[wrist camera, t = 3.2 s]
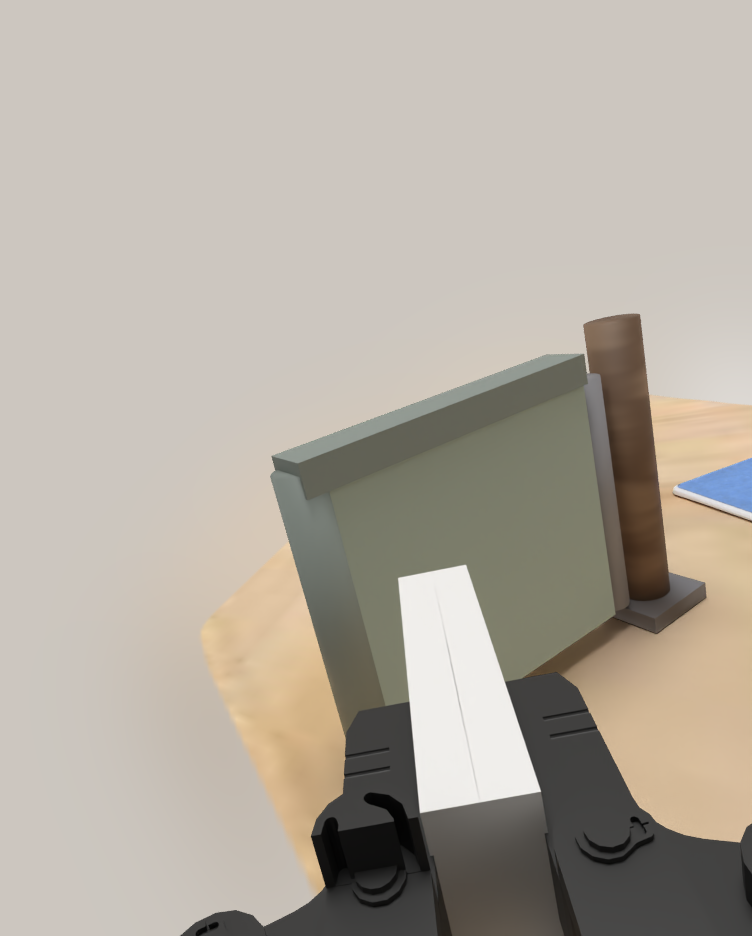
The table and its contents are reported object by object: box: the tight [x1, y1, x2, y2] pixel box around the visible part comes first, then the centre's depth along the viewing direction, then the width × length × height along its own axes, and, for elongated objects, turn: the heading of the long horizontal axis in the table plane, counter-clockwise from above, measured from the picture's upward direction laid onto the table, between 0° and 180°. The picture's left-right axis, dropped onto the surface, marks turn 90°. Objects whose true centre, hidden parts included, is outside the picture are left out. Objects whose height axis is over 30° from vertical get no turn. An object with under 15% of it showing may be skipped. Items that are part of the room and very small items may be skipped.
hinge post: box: [584, 314, 706, 633], centre depth 40 cm, size 5×5×18 cm
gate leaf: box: [270, 354, 630, 738], centre depth 34 cm, size 20×3×16 cm, turn 123°
